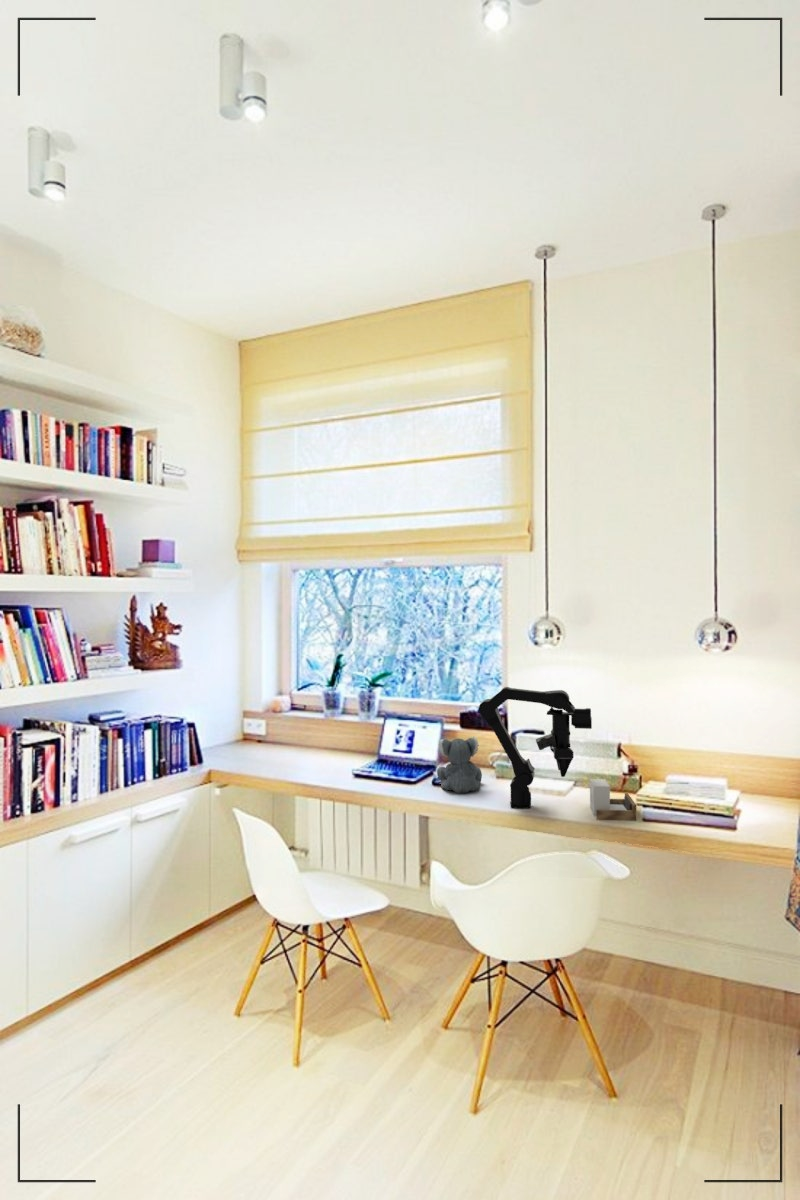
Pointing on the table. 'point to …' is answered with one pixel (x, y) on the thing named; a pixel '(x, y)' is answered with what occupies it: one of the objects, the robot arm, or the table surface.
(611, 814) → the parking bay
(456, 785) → the koala plush
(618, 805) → the grey block with dot
